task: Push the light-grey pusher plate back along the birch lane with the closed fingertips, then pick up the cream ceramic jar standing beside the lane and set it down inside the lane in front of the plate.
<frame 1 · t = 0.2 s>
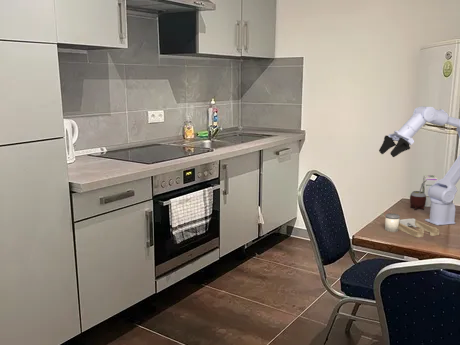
hand: (386, 153, 183), 31 cm above the table, tool tilted 45°, fingers open, 7 cm apart
mate gourd: (417, 209, 217), on the table
jar: (391, 230, 185), on the table
pusher: (410, 224, 187), point 2 cm above the table, slide at 0.0 cm
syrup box: (428, 205, 223), on the table
lane: (415, 230, 184), on the table
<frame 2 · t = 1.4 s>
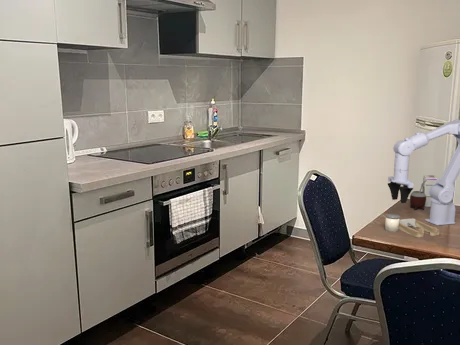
hand: (399, 201, 193), 9 cm above the table, tool pointing down, fingers open, 5 cm apart
nothing on the table moved.
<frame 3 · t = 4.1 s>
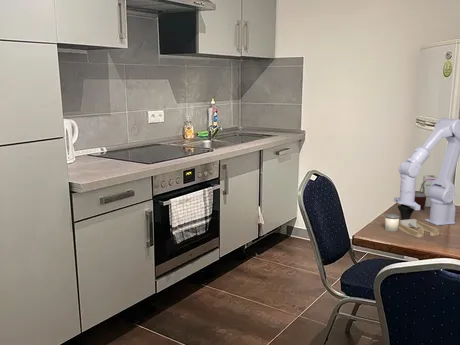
hand: (405, 222, 190), 1 cm above the table, tool pointing down, fingers closed
pusher: (412, 225, 186), point 2 cm above the table, slide at 0.7 cm, touching gripper
everything else where it was.
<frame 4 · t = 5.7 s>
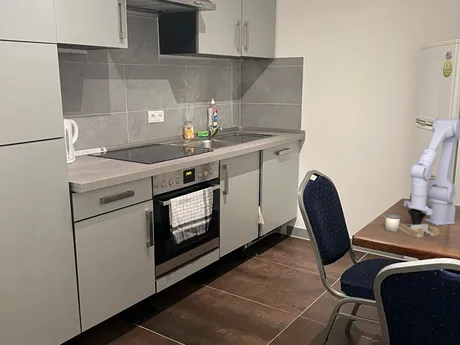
hand: (416, 227, 183), 1 cm above the table, tool pointing down, fingers closed
pusher: (423, 230, 179), point 2 cm above the table, slide at 7.8 cm, touching gripper
everything else where it was.
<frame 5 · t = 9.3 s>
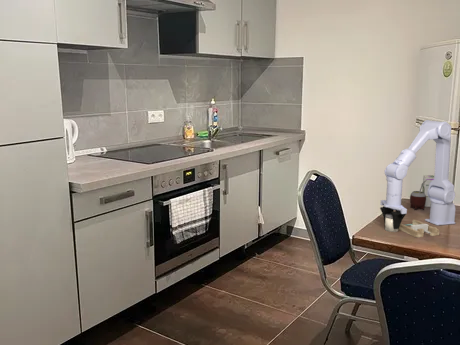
hand: (391, 226, 185), 1 cm above the table, tool pointing down, fingers closed on jar, 5 cm apart
jar: (391, 229, 185), on the table, touching gripper
pusher: (423, 230, 179), point 2 cm above the table, slide at 7.8 cm
everything else where it was.
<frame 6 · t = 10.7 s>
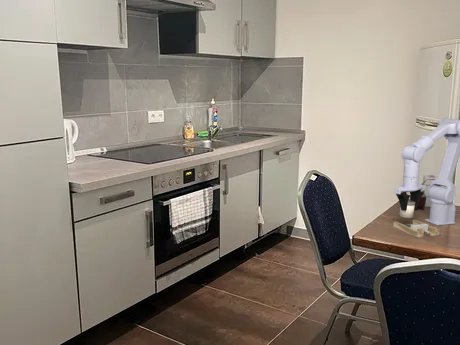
hand: (408, 209, 185), 8 cm above the table, tool pointing down, fingers closed on jar, 5 cm apart
jar: (406, 215, 187), point 5 cm above the table, touching gripper
everything else where it was.
when the fingers open (3 cm above the table, at t = 12.4 s): jar stays where it is, on the table.
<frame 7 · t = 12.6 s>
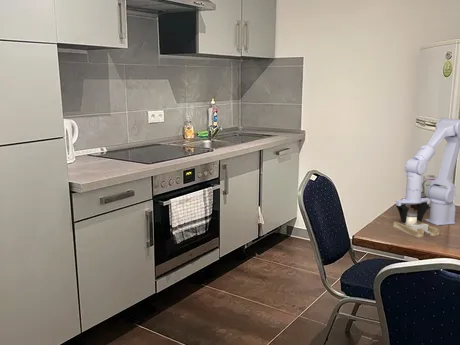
hand: (411, 221, 186), 3 cm above the table, tool pointing down, fingers open, 7 cm apart
jar: (409, 228, 188), on the table
everything else where it was.
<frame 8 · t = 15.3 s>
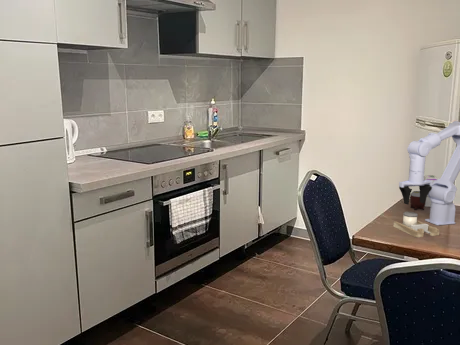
hand: (414, 203, 188), 10 cm above the table, tool pointing down, fingers open, 7 cm apart
nothing on the table moved.
at the end: jar 1.3 cm from the target spot, on the table; jar tilted 0°; pusher slide at 7.8 cm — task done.
